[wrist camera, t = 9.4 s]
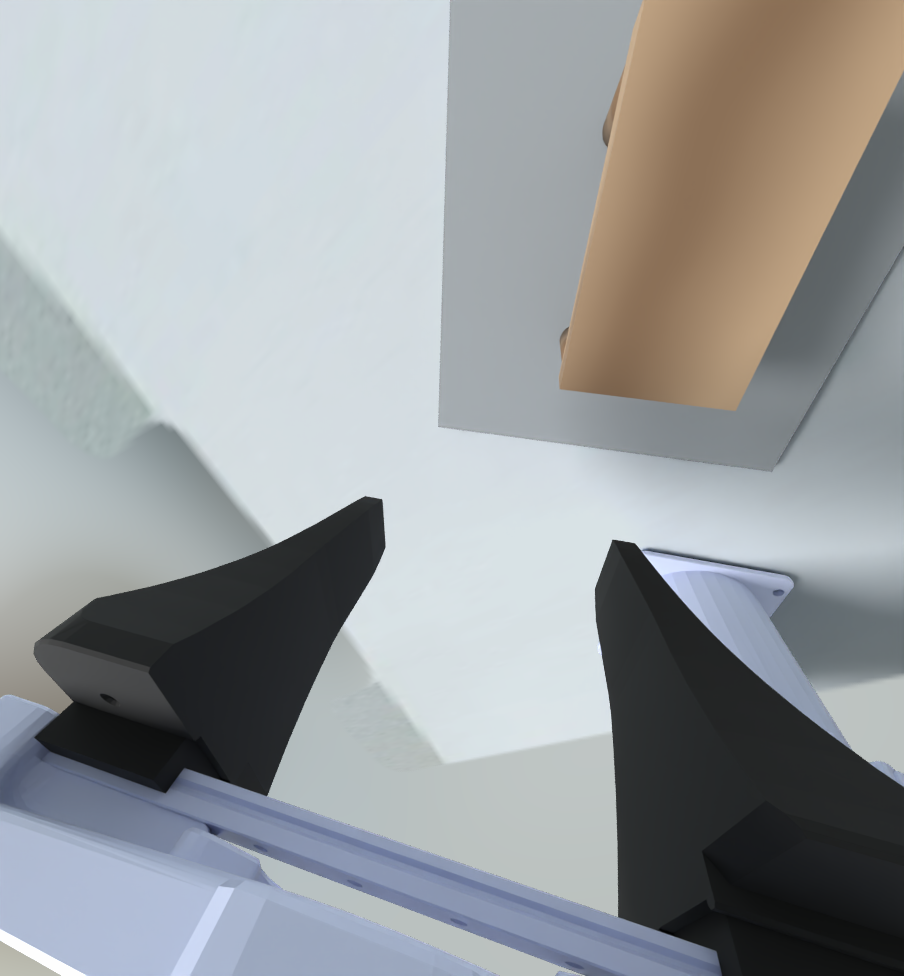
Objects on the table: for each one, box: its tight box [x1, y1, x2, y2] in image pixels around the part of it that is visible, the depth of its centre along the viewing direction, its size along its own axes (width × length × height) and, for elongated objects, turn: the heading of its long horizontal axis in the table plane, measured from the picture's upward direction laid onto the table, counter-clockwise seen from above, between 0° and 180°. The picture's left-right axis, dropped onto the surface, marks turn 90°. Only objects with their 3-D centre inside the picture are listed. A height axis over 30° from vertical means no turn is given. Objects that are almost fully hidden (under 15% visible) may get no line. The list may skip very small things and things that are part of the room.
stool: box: [559, 0, 904, 411], centre depth 11 cm, size 5×8×6 cm, turn 177°
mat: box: [438, 0, 904, 472], centre depth 14 cm, size 16×16×1 cm
